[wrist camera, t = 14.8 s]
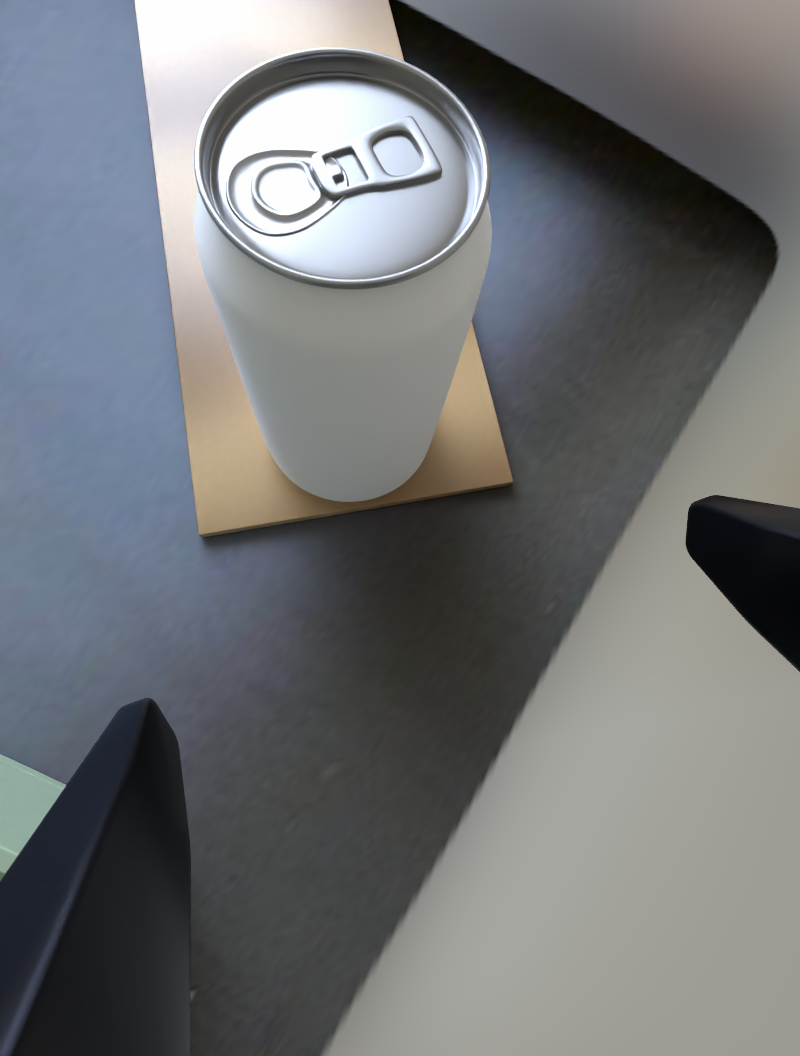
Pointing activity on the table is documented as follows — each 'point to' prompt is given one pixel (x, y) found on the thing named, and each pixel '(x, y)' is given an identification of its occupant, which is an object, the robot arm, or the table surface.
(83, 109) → the table surface
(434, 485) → the tan flat long board
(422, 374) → the can
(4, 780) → the chest
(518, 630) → the table surface
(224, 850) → the table surface
